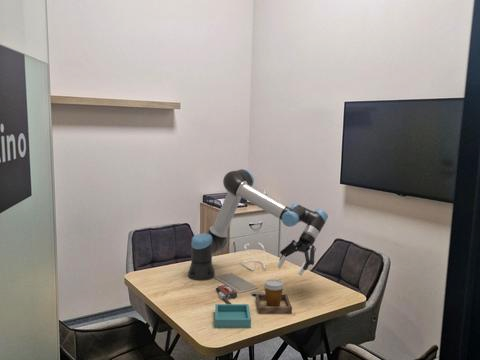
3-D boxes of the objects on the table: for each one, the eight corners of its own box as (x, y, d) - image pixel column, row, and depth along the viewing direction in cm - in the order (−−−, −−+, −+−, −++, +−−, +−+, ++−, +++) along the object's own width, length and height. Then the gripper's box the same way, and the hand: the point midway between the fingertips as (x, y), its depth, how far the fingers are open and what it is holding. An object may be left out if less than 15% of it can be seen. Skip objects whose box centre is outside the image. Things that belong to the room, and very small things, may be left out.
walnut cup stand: (258, 313, 190) (258, 307, 190) (255, 299, 205) (255, 294, 205) (291, 313, 191) (292, 307, 190) (286, 299, 206) (286, 294, 206)
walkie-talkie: (212, 291, 215) (228, 307, 197) (212, 283, 215) (228, 298, 197) (227, 289, 219) (244, 303, 201) (227, 281, 218) (244, 295, 201)
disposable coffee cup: (285, 304, 200) (286, 281, 199) (279, 312, 192) (279, 287, 190) (267, 300, 204) (268, 277, 203) (260, 308, 196) (260, 284, 194)
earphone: (250, 267, 241) (243, 241, 252) (244, 281, 253) (237, 256, 264) (272, 265, 245) (264, 240, 257) (264, 279, 257) (257, 255, 268)
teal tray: (214, 327, 176) (215, 319, 176) (215, 311, 191) (215, 304, 191) (250, 327, 177) (251, 319, 176) (248, 311, 192) (248, 304, 192)
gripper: (332, 245, 205) (312, 282, 196) (293, 235, 223) (273, 268, 215) (326, 237, 200) (305, 273, 192) (287, 227, 218) (266, 260, 210)
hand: (288, 270), depth 203 cm, fingers open, 13 cm apart
